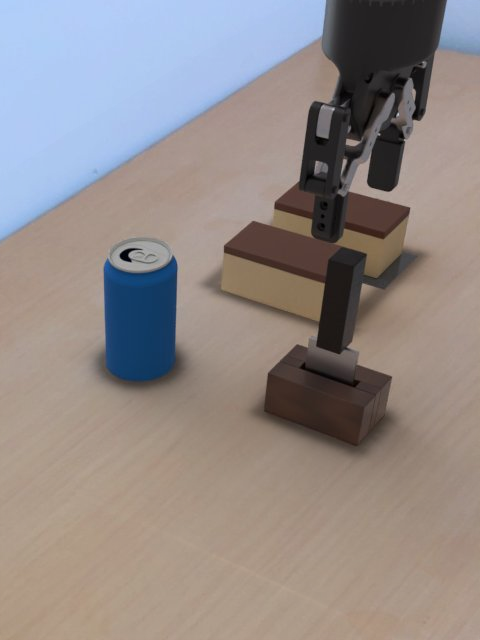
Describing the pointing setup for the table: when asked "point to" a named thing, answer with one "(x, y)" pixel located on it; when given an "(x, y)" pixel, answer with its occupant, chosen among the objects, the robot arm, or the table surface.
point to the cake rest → (351, 225)
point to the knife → (338, 319)
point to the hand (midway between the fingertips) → (354, 212)
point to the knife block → (326, 398)
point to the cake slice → (277, 268)
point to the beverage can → (140, 308)
